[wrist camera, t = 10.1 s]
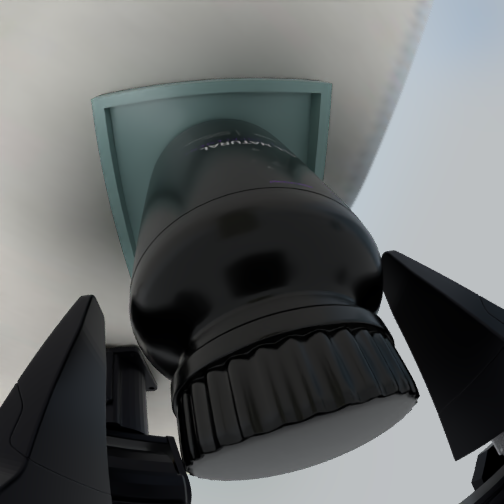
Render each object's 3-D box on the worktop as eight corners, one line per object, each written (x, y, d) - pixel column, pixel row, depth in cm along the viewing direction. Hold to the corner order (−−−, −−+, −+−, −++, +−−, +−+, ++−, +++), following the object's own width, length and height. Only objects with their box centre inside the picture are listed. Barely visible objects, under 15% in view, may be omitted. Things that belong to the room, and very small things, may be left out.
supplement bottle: (252, 88, 12) (513, 251, 2) (307, 203, 16) (446, 404, 6) (119, 168, 12) (47, 458, 3) (196, 264, 16) (242, 493, 7)
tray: (301, 249, 18) (311, 264, 17) (136, 271, 16) (134, 289, 15) (317, 80, 12) (332, 83, 11) (100, 95, 10) (91, 99, 9)
